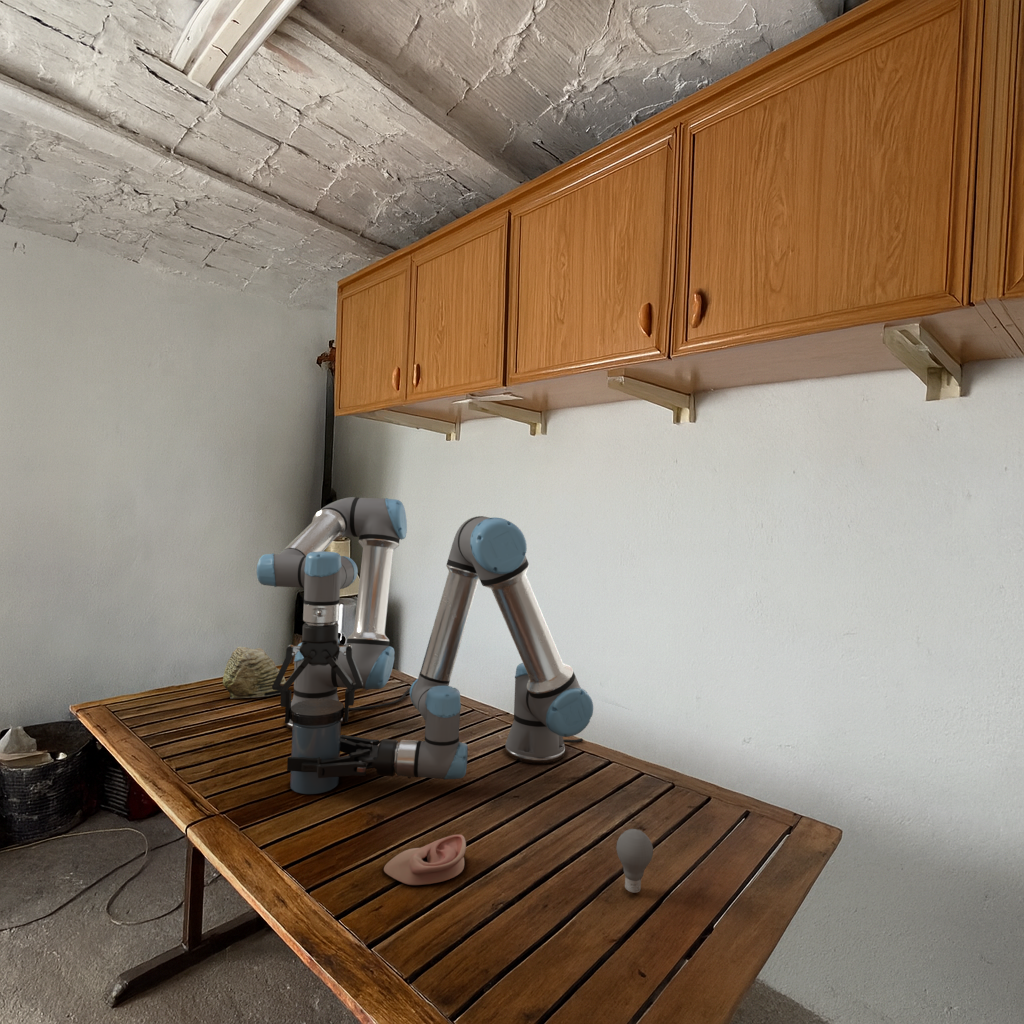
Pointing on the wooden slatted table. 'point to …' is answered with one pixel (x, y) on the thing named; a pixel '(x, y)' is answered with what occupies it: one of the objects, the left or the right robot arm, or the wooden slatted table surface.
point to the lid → (317, 712)
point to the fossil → (250, 674)
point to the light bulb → (634, 857)
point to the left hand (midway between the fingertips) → (317, 720)
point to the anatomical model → (429, 862)
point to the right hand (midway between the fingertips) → (296, 753)
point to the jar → (314, 755)
